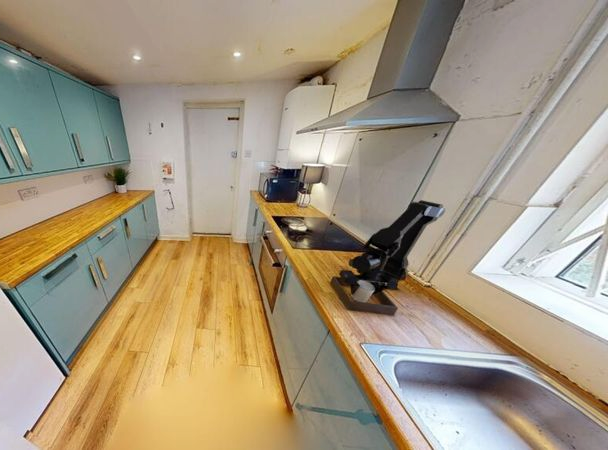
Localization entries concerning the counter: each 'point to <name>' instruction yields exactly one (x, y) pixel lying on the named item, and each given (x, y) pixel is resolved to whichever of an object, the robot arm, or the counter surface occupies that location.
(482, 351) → the counter surface
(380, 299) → the brown square frame
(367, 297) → the shot glass
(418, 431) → the counter surface
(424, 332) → the counter surface
